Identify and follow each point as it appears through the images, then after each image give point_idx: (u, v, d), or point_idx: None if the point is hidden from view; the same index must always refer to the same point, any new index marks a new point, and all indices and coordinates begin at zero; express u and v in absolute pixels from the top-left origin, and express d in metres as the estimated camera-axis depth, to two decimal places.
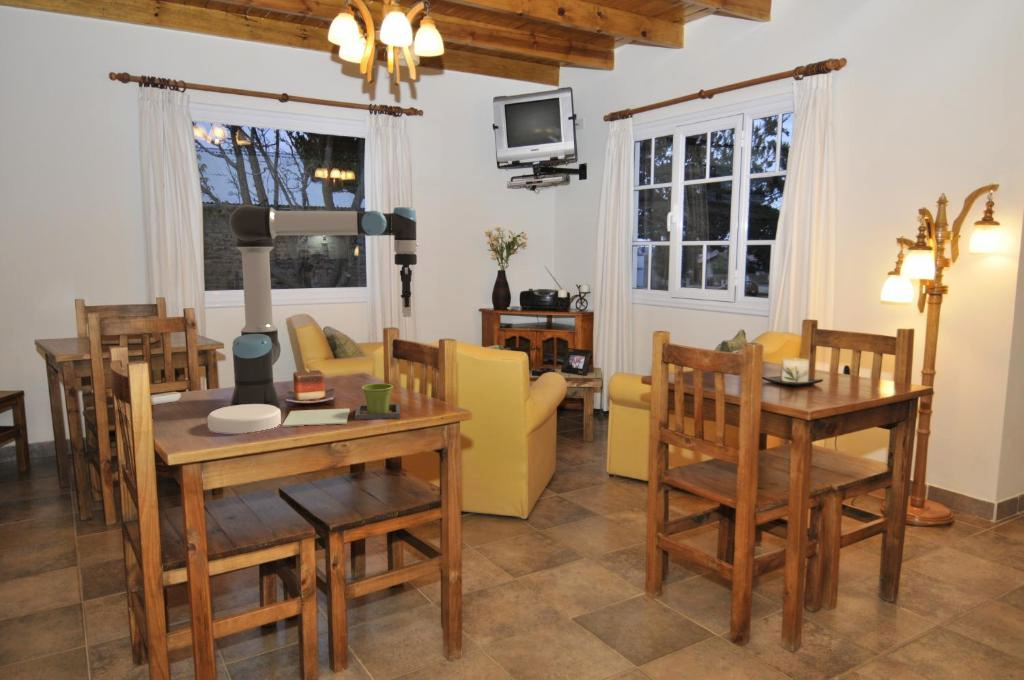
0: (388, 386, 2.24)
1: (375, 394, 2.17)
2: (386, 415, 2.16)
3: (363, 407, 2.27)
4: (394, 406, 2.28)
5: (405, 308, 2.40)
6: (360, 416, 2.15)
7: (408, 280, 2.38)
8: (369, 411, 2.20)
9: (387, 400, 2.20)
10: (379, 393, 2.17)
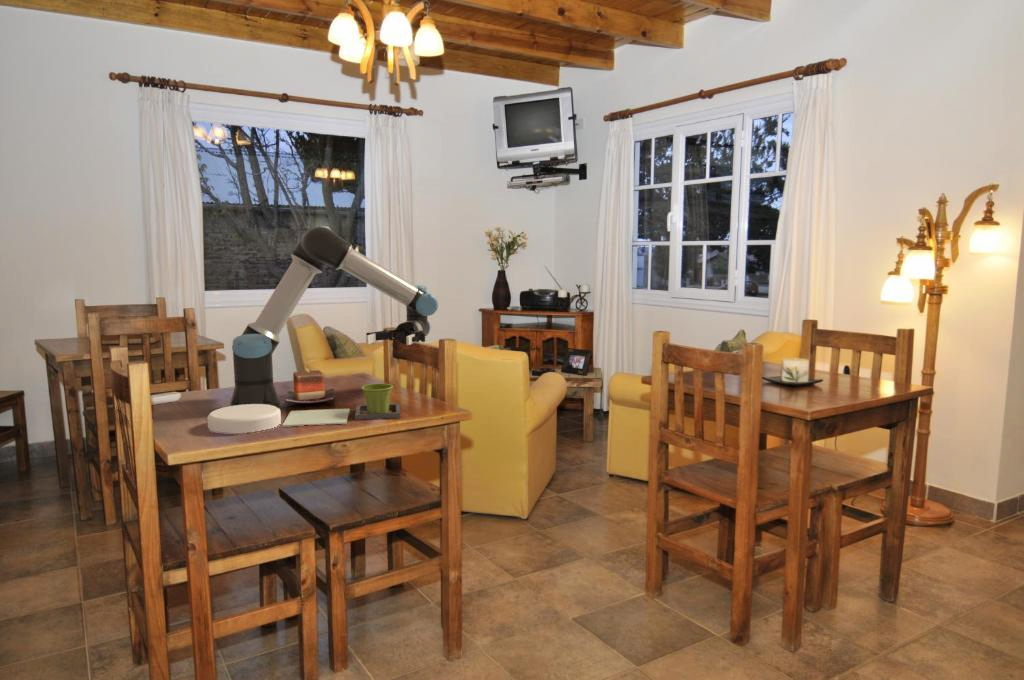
0: (388, 386, 2.24)
1: (375, 394, 2.17)
2: (386, 415, 2.16)
3: (363, 407, 2.27)
4: (394, 406, 2.28)
5: (411, 338, 2.30)
6: (360, 416, 2.15)
7: None
8: (369, 411, 2.20)
9: (387, 400, 2.20)
10: (379, 393, 2.17)
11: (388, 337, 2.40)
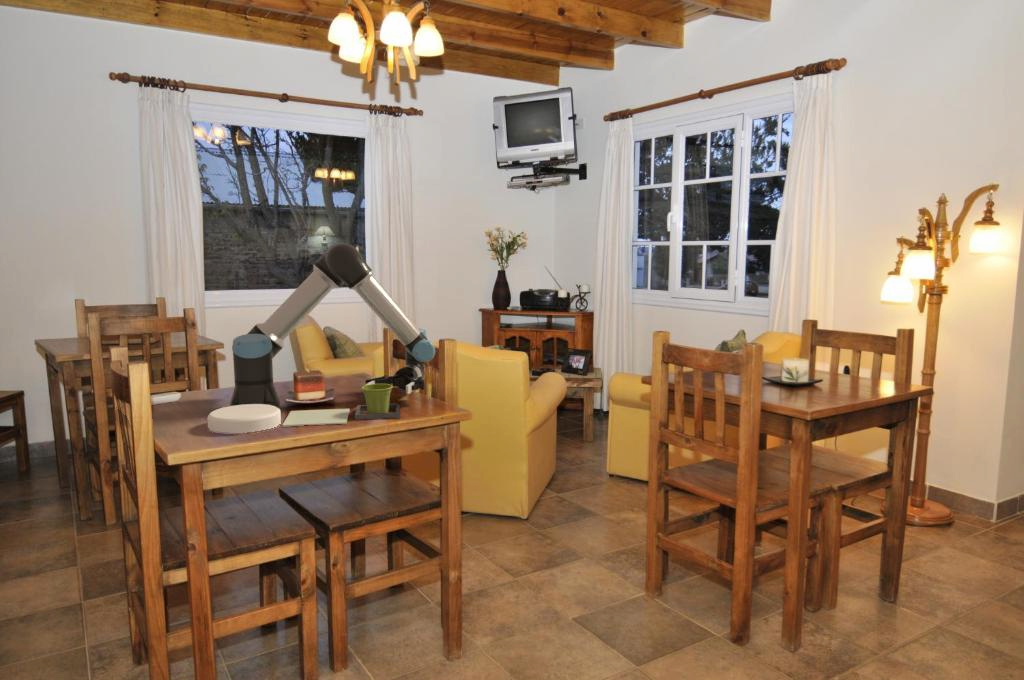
0: (388, 386, 2.24)
1: (375, 394, 2.17)
2: (386, 415, 2.16)
3: (363, 407, 2.27)
4: (394, 406, 2.28)
5: (411, 386, 2.29)
6: (360, 416, 2.15)
7: None
8: (369, 411, 2.20)
9: (387, 400, 2.20)
10: (379, 393, 2.17)
11: None
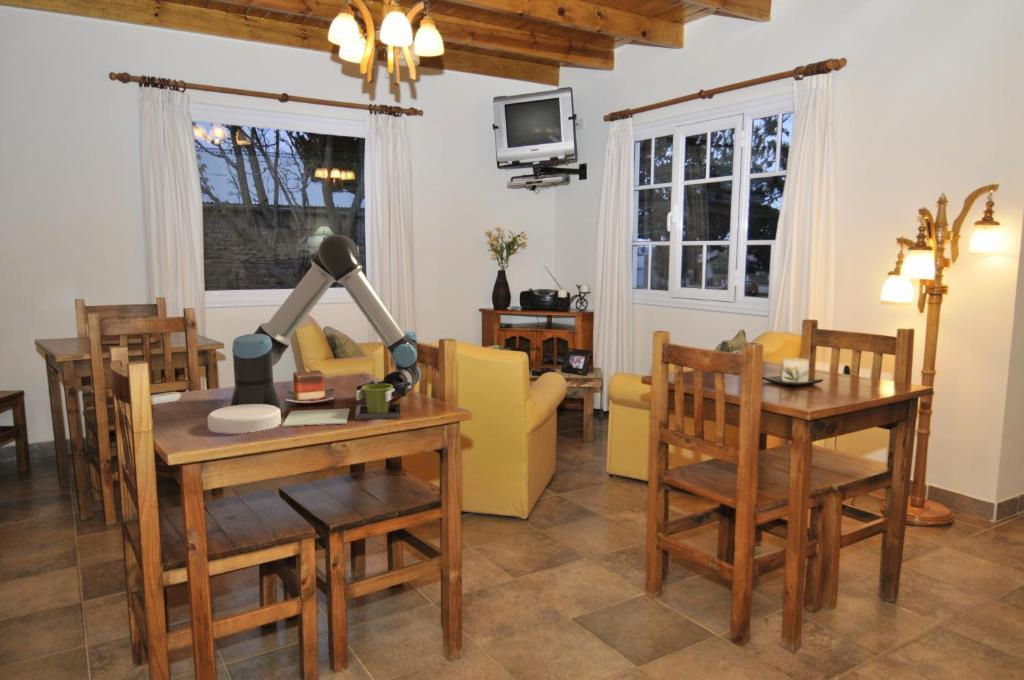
0: (388, 386, 2.24)
1: (375, 394, 2.17)
2: (386, 415, 2.16)
3: (363, 407, 2.27)
4: (394, 406, 2.28)
5: (390, 393, 2.18)
6: (360, 416, 2.15)
7: (407, 390, 2.28)
8: (369, 411, 2.20)
9: None
10: (379, 393, 2.17)
11: None
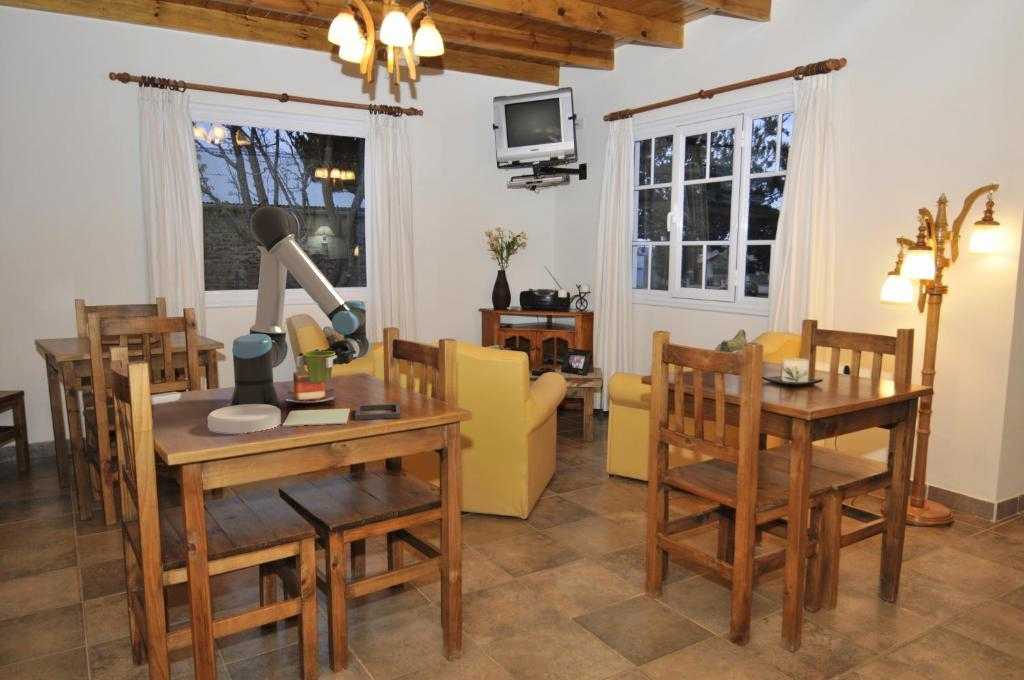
0: (331, 353, 2.17)
1: (316, 360, 2.10)
2: (386, 415, 2.16)
3: (363, 407, 2.27)
4: (394, 406, 2.28)
5: (332, 360, 2.12)
6: (360, 416, 2.15)
7: (351, 358, 2.21)
8: (310, 378, 2.13)
9: (329, 367, 2.13)
10: (320, 359, 2.11)
11: None
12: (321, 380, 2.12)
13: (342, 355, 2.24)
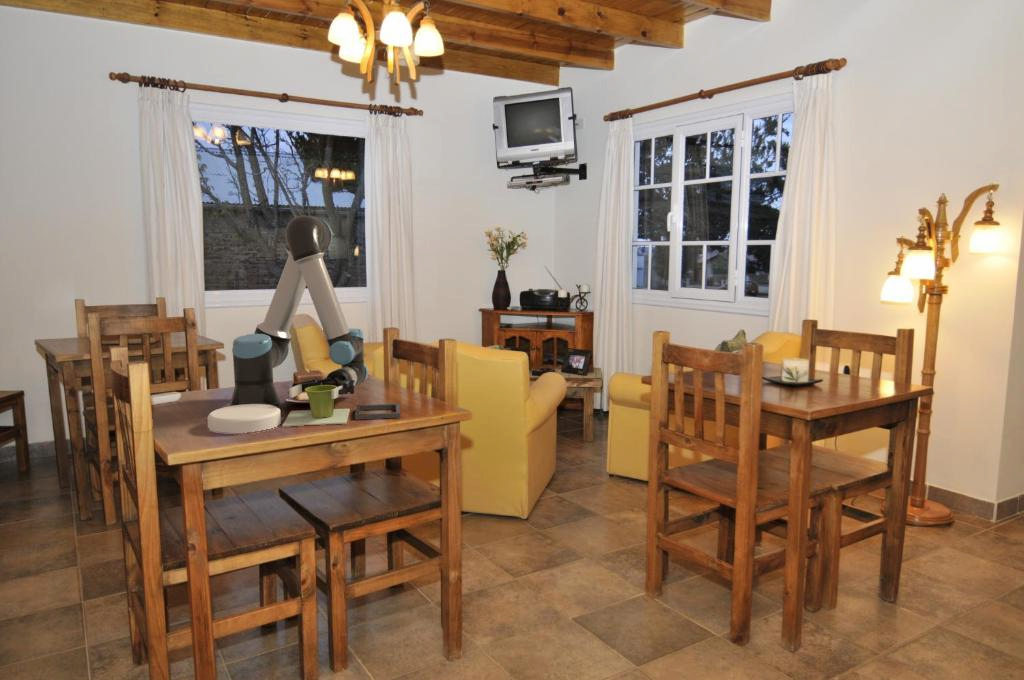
0: (333, 387, 2.19)
1: (318, 396, 2.12)
2: (386, 415, 2.16)
3: (363, 407, 2.27)
4: (394, 406, 2.28)
5: (337, 391, 2.14)
6: (360, 416, 2.15)
7: None
8: (313, 413, 2.14)
9: (331, 402, 2.15)
10: (322, 395, 2.12)
11: None
12: (324, 415, 2.14)
13: None
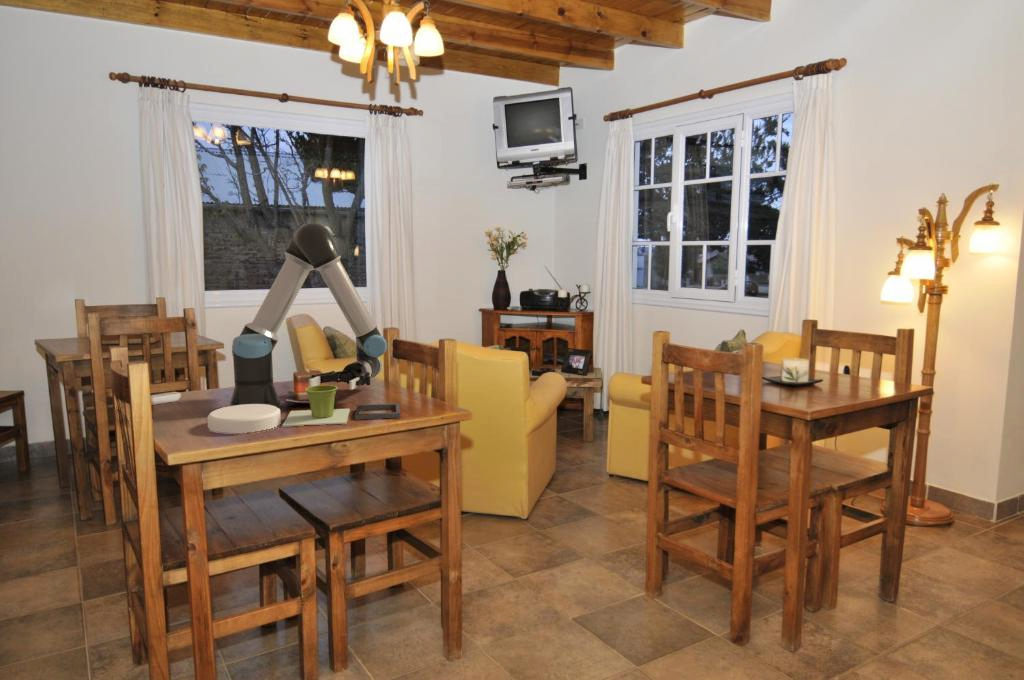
0: (333, 388, 2.19)
1: (318, 396, 2.12)
2: (386, 415, 2.16)
3: (363, 407, 2.27)
4: (394, 406, 2.28)
5: (355, 382, 2.26)
6: (360, 416, 2.15)
7: None
8: (313, 413, 2.14)
9: (331, 402, 2.15)
10: (323, 395, 2.12)
11: (334, 379, 2.36)
12: (324, 415, 2.14)
13: None
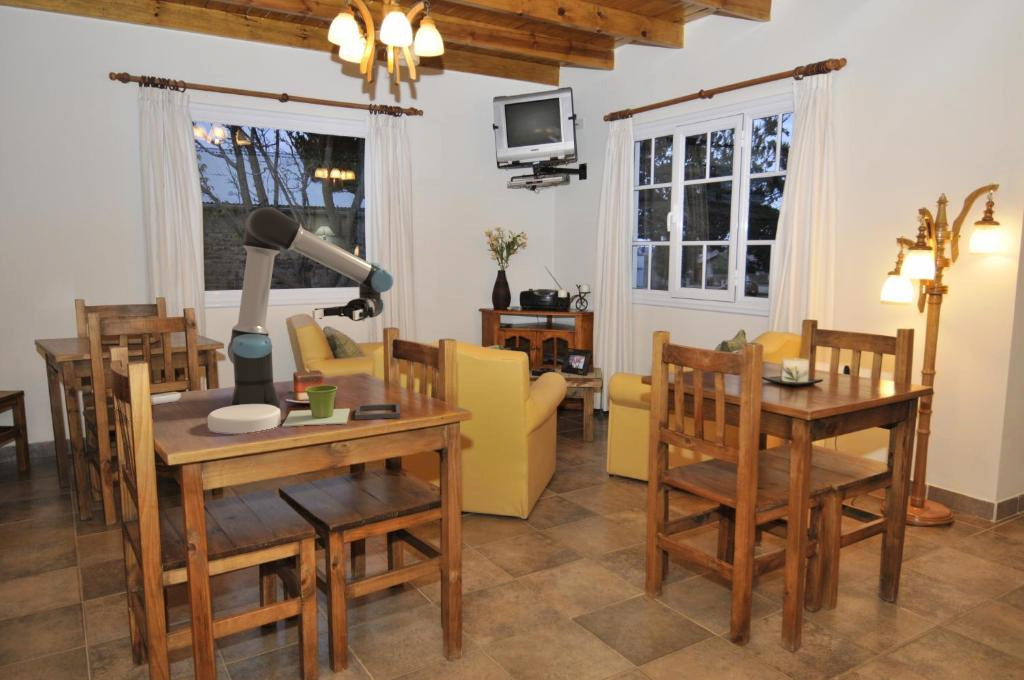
0: (333, 388, 2.19)
1: (318, 396, 2.12)
2: (386, 415, 2.16)
3: (363, 407, 2.27)
4: (394, 406, 2.28)
5: (358, 313, 2.28)
6: (360, 416, 2.15)
7: None
8: (313, 413, 2.14)
9: (331, 402, 2.15)
10: (323, 395, 2.12)
11: (337, 313, 2.38)
12: (324, 415, 2.14)
13: None
